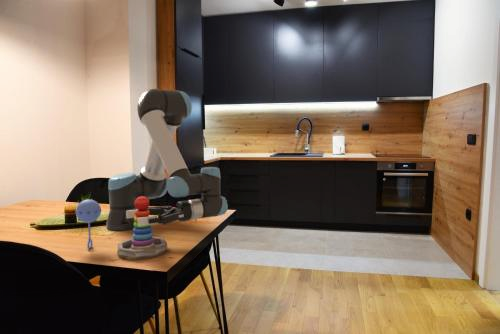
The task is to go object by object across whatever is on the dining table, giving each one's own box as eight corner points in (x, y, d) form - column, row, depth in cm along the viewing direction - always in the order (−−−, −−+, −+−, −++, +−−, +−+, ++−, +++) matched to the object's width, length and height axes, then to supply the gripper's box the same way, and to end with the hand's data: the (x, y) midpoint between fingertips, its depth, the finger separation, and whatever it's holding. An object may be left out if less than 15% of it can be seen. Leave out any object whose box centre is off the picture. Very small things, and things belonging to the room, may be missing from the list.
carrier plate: (106, 256, 126) (106, 248, 126) (138, 242, 142) (138, 234, 142) (147, 262, 120) (147, 253, 120) (176, 246, 136) (176, 238, 136)
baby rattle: (82, 244, 140) (80, 197, 138) (106, 243, 141) (103, 197, 139) (73, 252, 131) (70, 202, 130) (98, 251, 132) (96, 201, 130)
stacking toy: (148, 253, 126) (145, 199, 124) (126, 251, 128) (124, 198, 126) (158, 245, 134) (156, 194, 132) (138, 244, 136) (135, 194, 134)
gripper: (203, 227, 130) (143, 237, 118) (176, 214, 150) (122, 221, 139) (203, 206, 129) (142, 214, 117) (175, 195, 150) (122, 202, 138)
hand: (131, 218), depth 128 cm, fingers open, 13 cm apart
